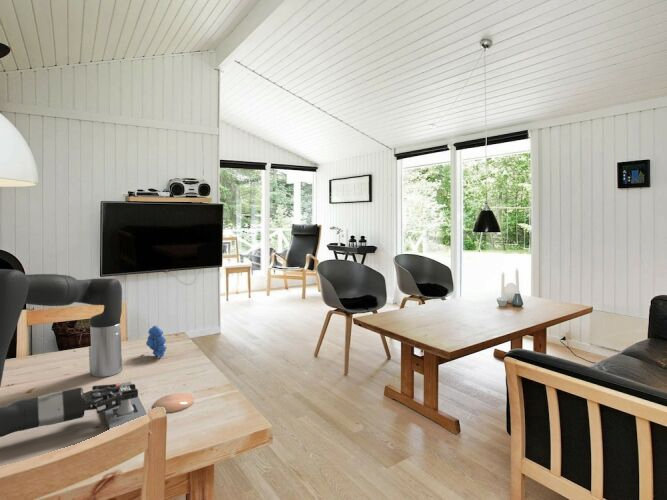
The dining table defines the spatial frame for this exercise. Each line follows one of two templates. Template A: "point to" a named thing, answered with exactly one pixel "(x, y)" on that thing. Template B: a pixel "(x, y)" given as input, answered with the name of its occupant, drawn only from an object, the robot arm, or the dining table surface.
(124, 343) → the dining table surface
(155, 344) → the grapes
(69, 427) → the dining table surface
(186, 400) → the peach dome
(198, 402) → the dining table surface
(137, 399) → the power strip
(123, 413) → the rook chess piece
